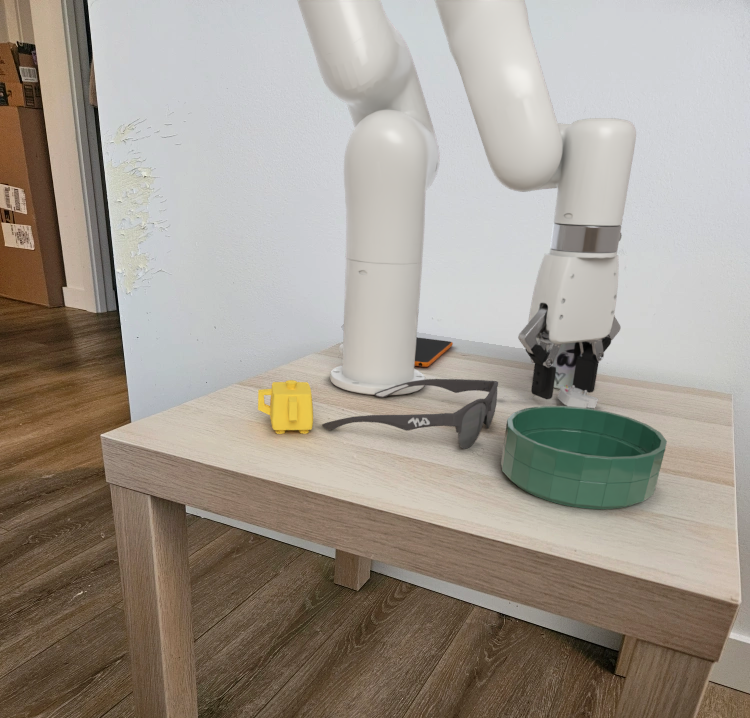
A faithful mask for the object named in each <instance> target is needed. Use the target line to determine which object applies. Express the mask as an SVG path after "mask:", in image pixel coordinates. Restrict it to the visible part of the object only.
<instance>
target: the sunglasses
mask: <svg viewBox="0 0 750 718" xmlns="http://www.w3.org/2000/svg"><path fill="white" fill-rule="evenodd" d="M420 385H424V386H430V387H437V388H442V389H444V390H446V391H449V392H451V393H454V394H459V393H463V392H469V391H470V392H471V391H473V392H474V391H480V392H487V393H488V394H487V395H486V396H485V397H484V398H478V399H476V400H473V401H471V402H470V403H468V404H466V405H465V406H463V407H462V408H460V409H458V410H456V411H455V412H443V413H442V412H441V413H420V414H419V413H418V414H417V413H416V414H369V415H357V416H356V415H355V416H350V417H344V418H339V419H335V420H332V421H327V422H324V423H322V424H321V427H323V428H324V429H326V430H327V431H333V430H335V429H338V428H340V427H342V426H345V425H347V424H354V423H377V424H382V425H388V426H391V427H395V428H398V429H400V430H403V431H406V432H408V431H412V430H417V429H424V428H430V427H431V428H432V427H452V428H453V427H454V428H455V433H458V434H457V443H458V445H459V447H460V448H462V449H464V450H466V449H468V448H471V447H472V446H473V445H474V444H475V442H476V441H477V440H478V438H479V436H480V435H481V434H480V433H481V431H482V428H483V426H484V425H485V427H486V429H489V428H490V426H491V424H492V422H493V420H494V419H493V418H494V416H495V413H496V409H497V402H498V386H499V381H498V380H488V379H487V380H484V379H462V378H461V379H459V378H432V379H431V378H428V379H426V378H425V380H418V381H412V382H407V383H403V384H400V385H397V386H394V387H391V388H388V389H385V390H382V391H380V392H377V393H375V394H374V395H373V396H375V397H376V398H381V399H384V398H387V397H388V396H392V395H391V394H393V393H395V392H397V391H399V390H401V389H404V388H407V387H412V386H420Z"/></svg>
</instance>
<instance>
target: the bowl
mask: <svg viewBox="0 0 750 718" xmlns="http://www.w3.org/2000/svg"><path fill="white" fill-rule="evenodd" d="M667 443H668V440H667V439H666V438H665V436H664V435H663V433H662V432H660V431H659V430H657V429H656V428H654V427H652V426H651V425H650V424H647V423H644V422H643V421H642V422H641V421H640V420H637V419H635V418H632V417H630V416H626V415H622V414H618V413H616V412H615V413H614V412H612V411H606V410H601V409H596V408H588V407H587V408H582V407H571V406H567V405H540V406H533V407H526V408H523V409H520V410H517V411H515V412H512V414H511V415H510V416H508V418H507V419H506V424H505V432H504V439H503V446H502V453H501V458H500V459H501V460H500V465H501V471H502V472H503V473H504V475H505V476H506V477H507V478H508V479H509V481H510V482H512V483H513V484H514V485H515V486H517V487H518V488H519V489H521V490H522V491H524V492H526V493H528V494H530V495H531V496H534V497H537V498H539V499H542V500H545V501H547V502H550V503H554V504H558V505H562V506H567V507H573V508H580V509H589V510H613V509H614V510H615V509H623V508H628V507H631V506H634V505H635V504H639V503H644V502H645V501H646V500H648V499H649V498H651V497H652V496H654V494H655V491H656V488H657V483H658V480H659V476H660V472H661V467H662V464H663V463H662V462H663V460H664V455H665V452H666V448H667Z"/></svg>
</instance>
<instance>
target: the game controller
mask: <svg viewBox="0 0 750 718" xmlns="http://www.w3.org/2000/svg"><path fill="white" fill-rule="evenodd" d="M534 396H536V395H534V394H533V396H532V397H531V399H533V398H534ZM514 397H515V398H516V399H518V400H521V401H522V399H521V398H517V396H514V395H513V398H514ZM504 398H507V395H505V396H504ZM552 398H554V396H552ZM552 398H551V399H552ZM557 399H558V400H559V401H560V402H561V403H562V404H563V405H564V406H571V407H582V408H590V409H596V407H597V404H598V402H599V398H598V397H595V396H592V395H589V394H588V392H587V390H584V391H583V390H581V389H578V388H575V386H574V385H572V386H571V387H570V386H568V385H563V386H561V388H560V389H559V391H558V394H557ZM527 400H529V398H526V399H524V401H527Z"/></svg>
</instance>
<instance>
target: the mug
mask: <svg viewBox="0 0 750 718" xmlns="http://www.w3.org/2000/svg"><path fill="white" fill-rule="evenodd" d="M614 316H615V317H616V314H614ZM536 340H537V342H538V340H539V338H536ZM590 344H591V343H590ZM549 347H550V345H547V346H546V349H545V352H546V353H547V351H548V349H549ZM578 356H581V357H582V355H581V350H580V344H579V342H576V343H567V344H562V345H561V347H560V349H559V351H558V354H557V356H556V358H555V360H554V363H553V365H552V366H553V367H556V374H555V381H554V389H559V390H560V388H561V386H563V385H568V386H570V387H571V386H572V385H573V379H574V373H575V366H576V360H577V357H578ZM598 362H599V363H600V361H598ZM599 363H598V365H599Z"/></svg>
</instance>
